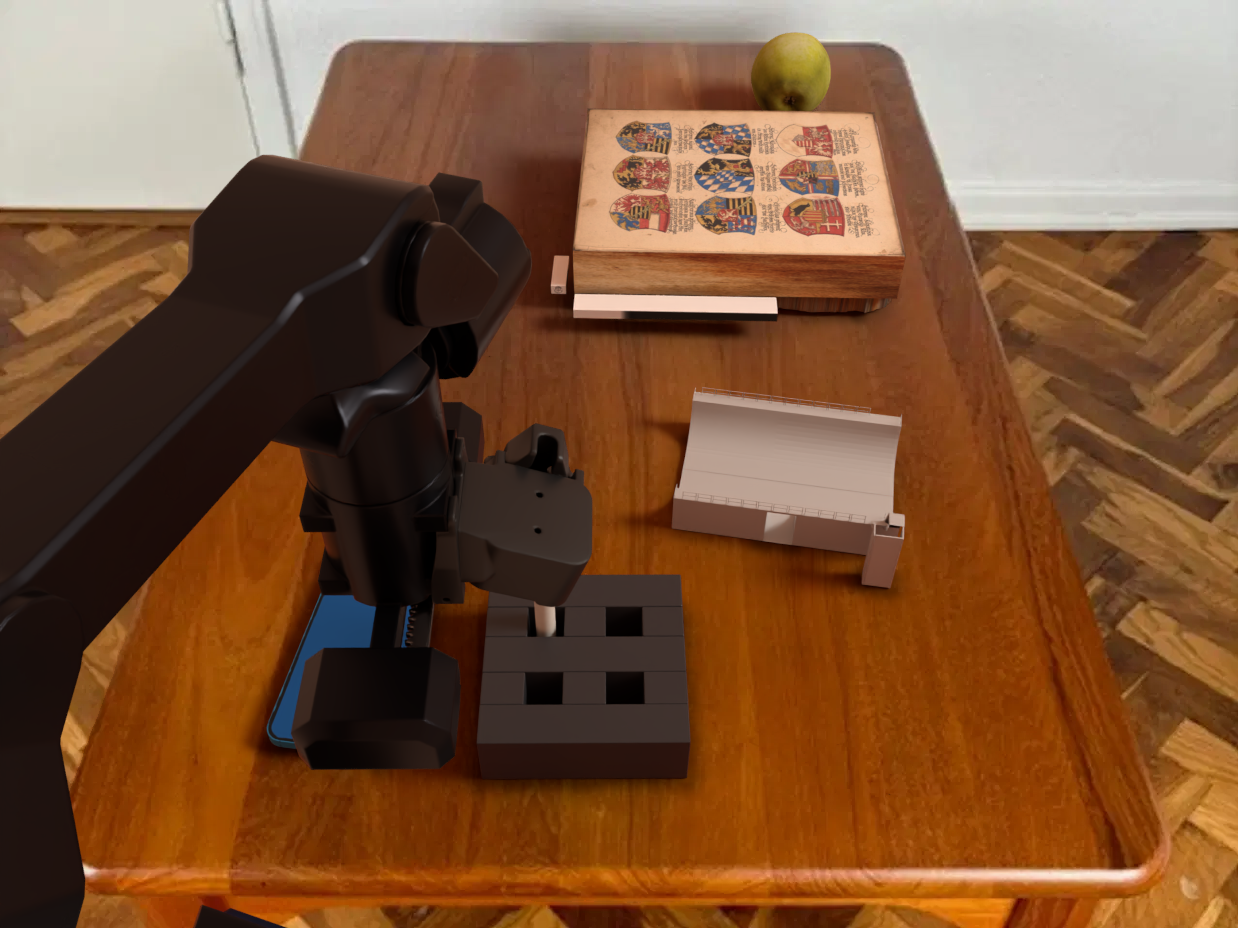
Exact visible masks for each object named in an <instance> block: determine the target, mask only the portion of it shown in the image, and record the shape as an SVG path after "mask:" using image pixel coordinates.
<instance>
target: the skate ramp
mask: <svg viewBox="0 0 1238 928" xmlns="http://www.w3.org/2000/svg"><path fill="white" fill-rule="evenodd" d="M701 389H702V390H701V392H700V391H696V390H697V387H695V388H694V390H693V395H692V402H691V413H690V423H689V431H688V436H687V443H686V450H685V455H684V456H685V457H684V461H683V466H682V470H681V478H680V481H679V486H678V484H676V485H675V489H674V494H673V501H672V502H673V503H672V516H671V517H672V519H671V529H672V530H682V531H689V532H695V533H702V534H708V535H709V534H710V535H716V536H724V537H733V538H739V539H747V540H753V541H760V542H761V541H762V542H769V543H775V544H781V545H782V544H783V545H790V546H798V547H805V548H813V549H819V550H827V551H833V552H841V553H848V554H855V555H862V556H865V558H864V559H865V560H864V562H863V568H862V572H861V585H862V586H871V587H872V586H873V587H879V588H888V589H891V587H892V583H893V581H894V576H895V572H896V569H897V565H898V562H899V558H900V555H901V551H902V547H903V545H904V539H905V528H906V515H905V514H903V513H896V512H894V495H895V494H894V491H895V490H894V489H895V488H894V487H895V469H896V468H895V467H896V459H897V453H898V446H899V445H898V444H899V440H900V434H901V431H902V425H903V424H902V421H903V414H902V413H901V415H900V416H895V415H894V416H893V415H886V414H877V413H871V410H872V408H871V407H869V410H865V412H863V410H860V409H859V408H858V406H857V405H853V408H854V407H855V408H854V409H852V408H849V410H847V409H846V407H851V405H848V404H845V405H843V404H842V403H841V404H840V403H837V406H838V405H839V406H841V407H840V409H839V408H838V407H837V406H832V408H831V407H829V406H830V405H835V403H833V402H825V401H821V403H822V404H827V405H824V407H823V406H822V405H821V404H820V405H819V404H816V403H819V401H816V400H815V401H814V400H812V401H811V402H812V403H808V405H807V404H806V403H805V402H806V401H807V402H810V400H808V399H804V401H805V402H804V403H803V402H802V399H800V398H796V400H797V402H795V401H792V403H791V402H790V401H789V400H787V399H791V400H794V398H792V397H784V396H780V398H782V399H784V400H783V401H782V400H780V399H776V401H774V399H773V397H774V398H778V396H777V395H770V394H769V395H768V394H764V396H765V398H764V397H760V399H759V398H758V396H762V394H760V393H755V396H752V398H750V397H749V396H748V395H749V394H750V395H754V393H752V392H748V395H745V394H746V392H745V391H744V392H743V391H739V393H741V394H742V395H739V394H735V396H734V395H733V394H731V393H732V392H733V393H737V391H735V390H727V389H723V391H725V392H728V393H727V395H726V394H725V393H723V392H719V394H718V391H721V389H719V388H715V390H714V391H711V393H710V392H709V390H713V388H712V387H711V388H710V387H707V389H709V390H708V391H707V390H704V389H705V387H703V386H702V387H701ZM766 397H769V398H768V400H766ZM845 406H846V407H845ZM861 408H863V409H867V406H861ZM901 527H902V528H901ZM900 529H901V532H900ZM899 532H900V533H899Z"/></svg>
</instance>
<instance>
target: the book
mask: <svg viewBox="0 0 1238 928" xmlns="http://www.w3.org/2000/svg"><path fill="white" fill-rule="evenodd" d="M585 119H586V120H585V127H584V139H583V147H582V157H581V166H580V176H579V177H580V178H579V187H578V195H577V196H578V197H577V205H576V215H575V225H574V233H573V234H574V235H573V244H572V266H573V291H574V292H573V293H574V296H573V297H574V299H573V319H611V320H612V319H613V320H614V319H615V320H616V319H618V320H623V319H624V320H666V321H667V320H670V321H672V320H673V321H674V320H675V321H676V320H677V321H678V320H679V321H723V322H726V321H727V322H729V321H731V322H778V314H779V313H778V312H779V311H778V309H784V310H794V311H800V312H807V313H829V312H830V313H837V312H838V313H847V312H854V311H857V312H861V313H864V314H866V313H870V312H874V311H876V310H879V309H884V308H886V307H887V305H889V304H890V303H892V301H893V299H895V300H897V299H898V297H899V292H900V287H901V282H902V276H903V273H904V267H905V262H906V258H907V256H906V255H907V254H906V251H905V246H904V242H903V236H902V232H901V228H900V224H899V223H900V222H899V219H898V213H897V210H896V205H895V200H894V196H893V191H892V186H891V182H890V178H889V177H890V176H889V172H888V167H887V164H886V158H885V154H884V150H883V145H882V140H881V136H880V131H879V127H878V123H877V117H876V113H875V112H874V111H821V110H820V111H819V110H816V111H814V110H812V111H763V110H747V109H746V110H744V109H742V110H741V109H740V110H739V109H738V110H737V109H734V110H733V109H673V108H672V109H671V108H669V109H665V108H663V109H662V108H659V109H657V108H596V107H593V108H591V107H589V108H588V107H587V108H586V118H585ZM569 270H570V255H553V264H552V273H551V282H550V293H551V294H552V295H553V294H555V295H567V290H568V282H569V281H568V280H569Z"/></svg>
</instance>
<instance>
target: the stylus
mask: <svg viewBox="0 0 1238 928" xmlns="http://www.w3.org/2000/svg"><path fill="white" fill-rule="evenodd" d="M534 607H535V620H536V634H537V637H556V620H555V607H546V606H541V605H538V604H536V602H535V601H534Z"/></svg>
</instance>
